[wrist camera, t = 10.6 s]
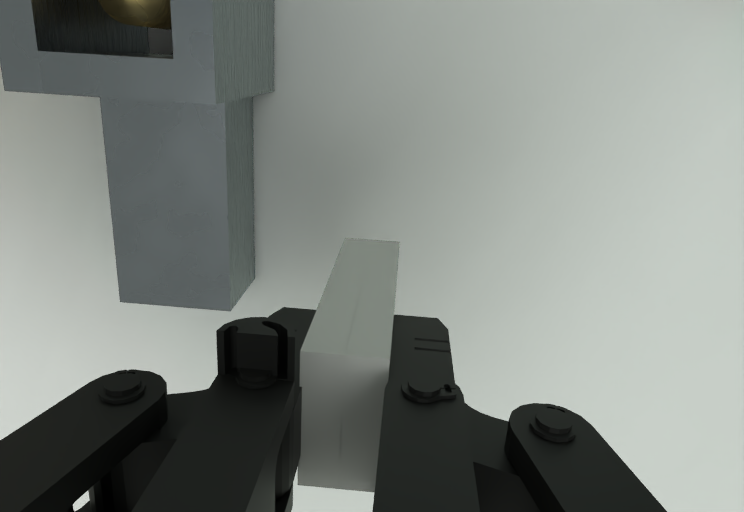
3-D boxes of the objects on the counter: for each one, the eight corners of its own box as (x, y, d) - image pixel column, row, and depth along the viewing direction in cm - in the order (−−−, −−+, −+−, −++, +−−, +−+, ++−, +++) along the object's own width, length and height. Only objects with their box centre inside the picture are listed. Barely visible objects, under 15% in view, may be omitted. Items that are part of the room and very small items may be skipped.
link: (274, 279, 29) (224, 358, 21) (139, 268, 29) (42, 342, 22) (274, -86, 23) (207, -154, 16) (108, -94, 24) (-35, -164, 16)
